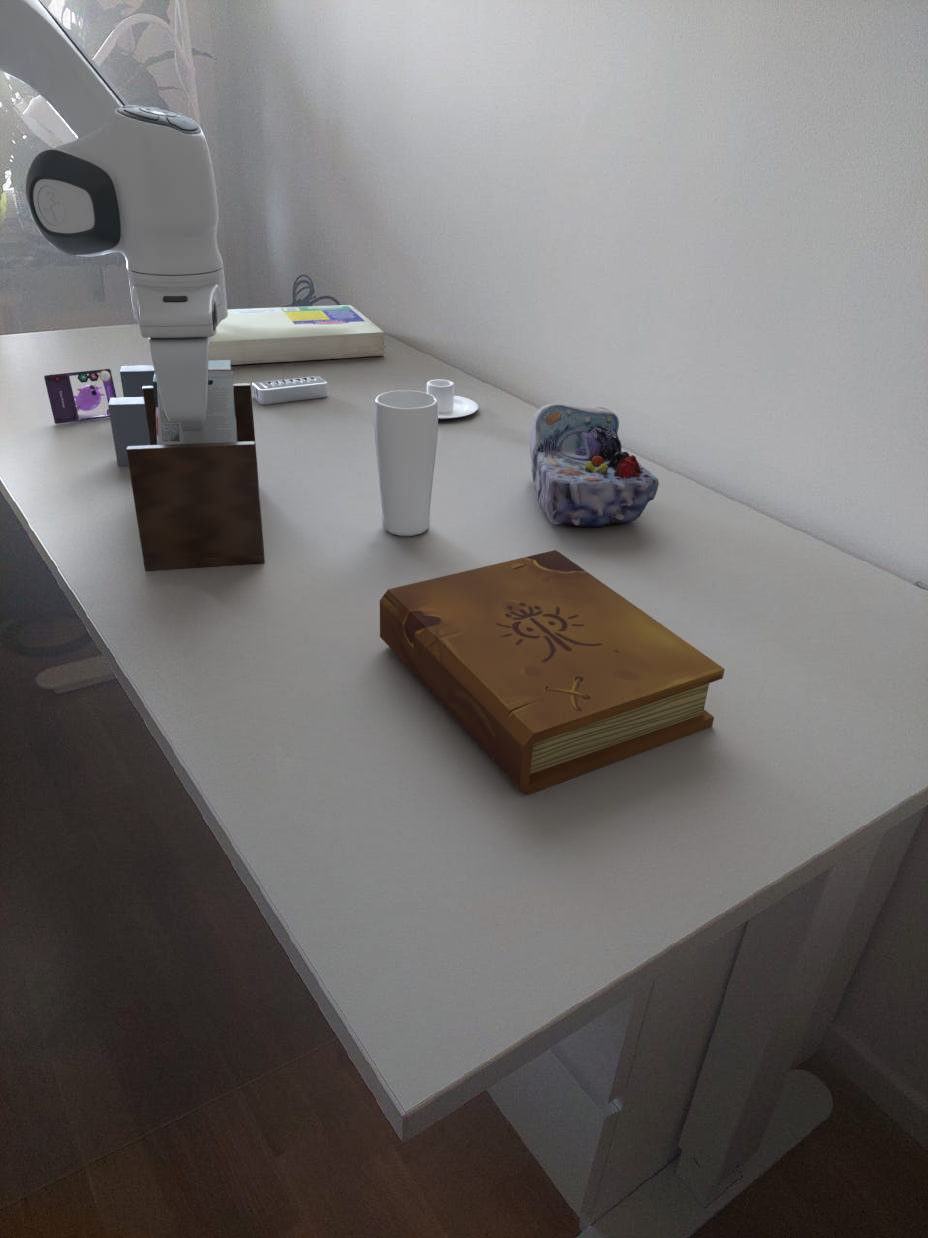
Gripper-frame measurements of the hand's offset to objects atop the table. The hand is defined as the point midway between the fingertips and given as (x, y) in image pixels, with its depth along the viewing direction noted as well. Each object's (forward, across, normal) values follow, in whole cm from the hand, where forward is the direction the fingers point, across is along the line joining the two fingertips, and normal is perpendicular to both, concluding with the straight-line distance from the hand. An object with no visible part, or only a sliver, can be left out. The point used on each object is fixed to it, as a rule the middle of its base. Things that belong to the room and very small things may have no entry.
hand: (195, 436), depth 97 cm
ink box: (+7, 0, 0) cm, 7 cm away
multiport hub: (+12, -50, +12) cm, 53 cm away
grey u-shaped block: (+11, -32, -8) cm, 35 cm away
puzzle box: (+12, -82, +11) cm, 84 cm away
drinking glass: (+12, +1, +22) cm, 25 cm away
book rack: (+11, -3, 0) cm, 12 cm away
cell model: (+12, -3, +44) cm, 46 cm away
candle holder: (+12, -41, +34) cm, 54 cm away
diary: (+12, +34, +28) cm, 46 cm away
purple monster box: (+12, -44, -18) cm, 49 cm away
